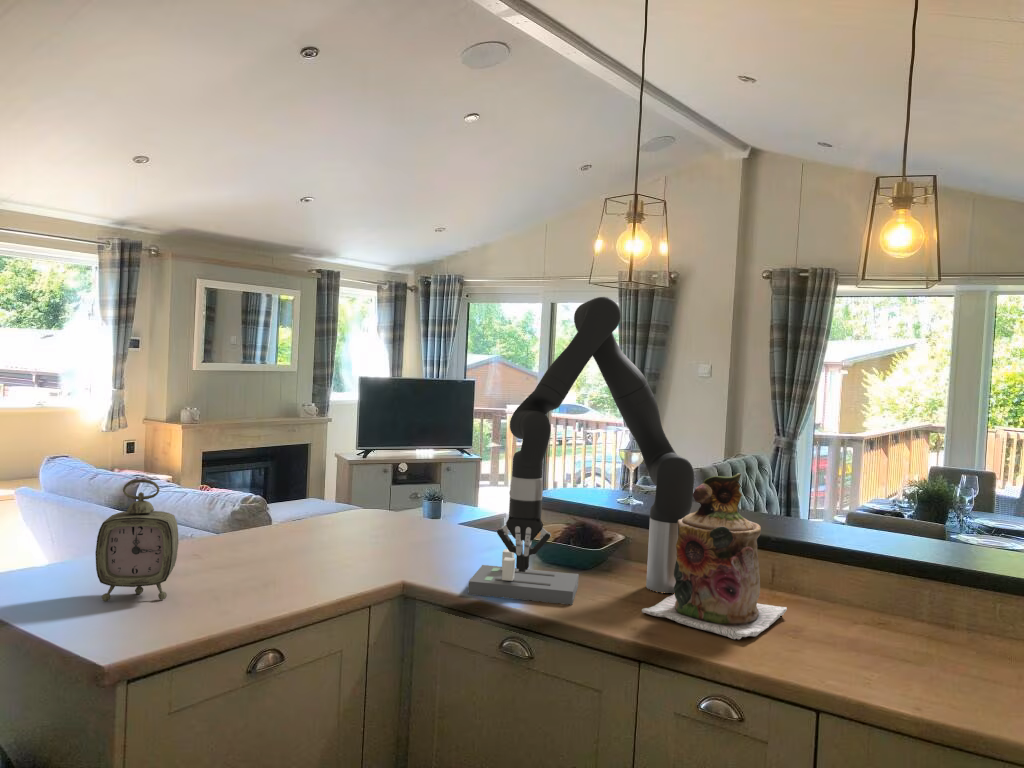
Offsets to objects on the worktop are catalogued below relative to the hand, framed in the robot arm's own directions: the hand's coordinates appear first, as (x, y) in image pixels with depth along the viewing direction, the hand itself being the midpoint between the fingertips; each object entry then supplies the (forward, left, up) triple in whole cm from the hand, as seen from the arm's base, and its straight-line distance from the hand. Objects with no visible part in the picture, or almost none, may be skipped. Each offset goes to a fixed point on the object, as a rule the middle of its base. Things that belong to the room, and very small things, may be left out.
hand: (522, 571), depth 172 cm
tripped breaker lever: (+3, 0, -2) cm, 4 cm away
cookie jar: (-43, +1, -6) cm, 44 cm away
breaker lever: (+5, -8, -2) cm, 10 cm away
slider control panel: (0, -4, -6) cm, 7 cm away
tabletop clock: (+78, +28, -6) cm, 83 cm away
